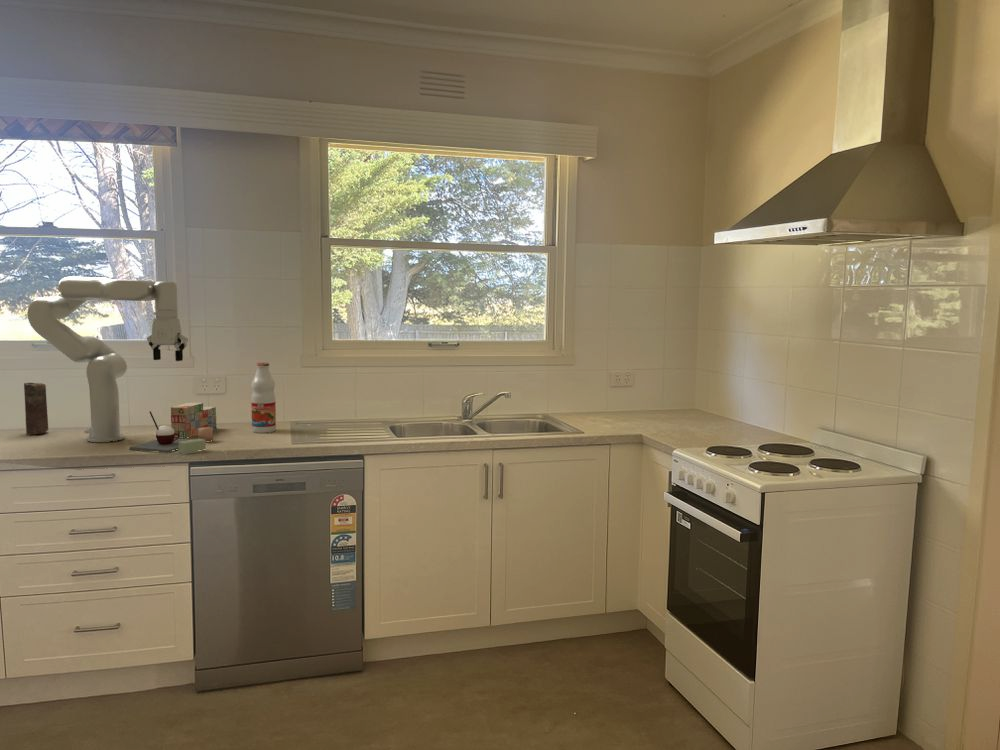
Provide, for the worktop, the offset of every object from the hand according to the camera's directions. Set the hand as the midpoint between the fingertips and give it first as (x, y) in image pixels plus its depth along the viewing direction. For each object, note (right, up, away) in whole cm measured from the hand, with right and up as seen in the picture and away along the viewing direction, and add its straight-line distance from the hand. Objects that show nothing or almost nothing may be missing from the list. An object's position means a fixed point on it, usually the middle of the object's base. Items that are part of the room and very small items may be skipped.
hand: (168, 360), depth 275 cm
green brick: (+16, -33, -16) cm, 40 cm away
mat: (+3, -32, -9) cm, 33 cm away
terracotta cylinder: (+14, -31, +2) cm, 34 cm away
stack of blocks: (+3, -29, +17) cm, 34 cm away
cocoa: (+3, -31, -9) cm, 32 cm away
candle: (-56, -29, +10) cm, 63 cm away
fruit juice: (+28, -29, +24) cm, 47 cm away
